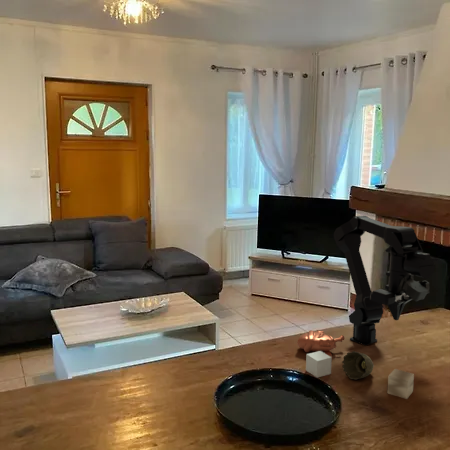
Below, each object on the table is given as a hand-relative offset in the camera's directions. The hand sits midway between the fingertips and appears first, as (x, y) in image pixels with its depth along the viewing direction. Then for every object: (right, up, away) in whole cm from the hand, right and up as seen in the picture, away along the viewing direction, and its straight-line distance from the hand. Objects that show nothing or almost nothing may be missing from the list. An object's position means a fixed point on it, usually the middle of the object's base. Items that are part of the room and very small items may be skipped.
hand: (396, 319), depth 150 cm
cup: (-10, -11, -8) cm, 17 cm away
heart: (-22, -11, +8) cm, 25 cm away
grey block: (-25, -13, -8) cm, 29 cm away
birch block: (-6, -15, -19) cm, 25 cm away
